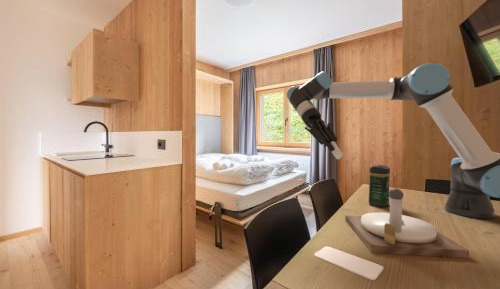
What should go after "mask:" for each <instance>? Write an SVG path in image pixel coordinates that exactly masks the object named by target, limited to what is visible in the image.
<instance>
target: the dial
mask: <svg viewBox="0 0 500 289" xmlns="http://www.w3.org/2000/svg"><path fill="white" fill-rule="evenodd" d="M403 200H404V193H403V191H402V190H401V189H399V188H396V187H395V188H392V189H389V212H377V211H375V212H367V213H364V214H362V215H360V216H361V225H362V227H363V228H364V229H365V230H367V231H369V232H371V233H373V234H375V235H378V236H380V237H383V238H384V228H385V223H388V224H393V225H396V226H395V241H400V242H407V243H429V242H433V241H435V240H436V235H437V232H438V231H437V228H436V227H435V226H434V225H432V224H431V223H429V222H427V221H424V220H423V219H419V218H417V217H413V216H408V215H404V214H403Z"/></svg>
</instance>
